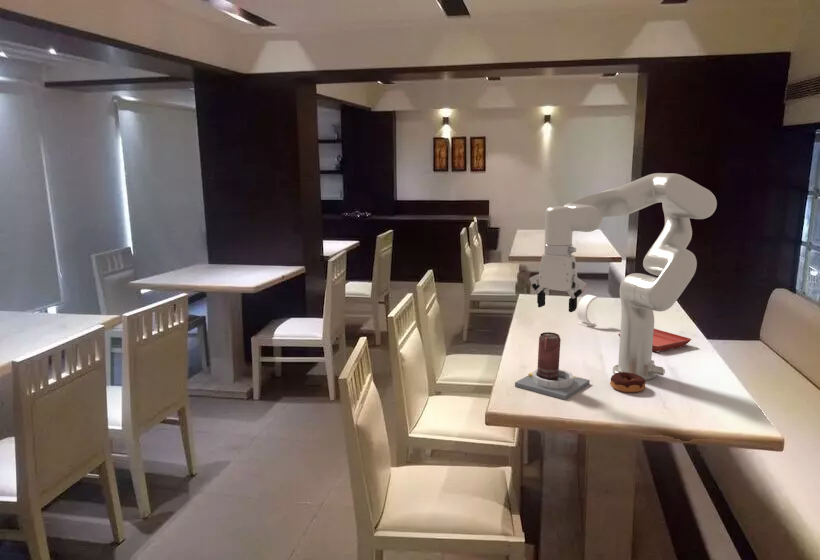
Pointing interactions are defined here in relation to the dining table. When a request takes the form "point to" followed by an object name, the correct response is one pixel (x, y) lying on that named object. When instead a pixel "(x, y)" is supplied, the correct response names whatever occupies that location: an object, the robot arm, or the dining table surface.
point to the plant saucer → (667, 341)
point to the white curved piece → (585, 310)
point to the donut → (627, 382)
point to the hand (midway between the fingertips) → (556, 308)
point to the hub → (553, 384)
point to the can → (548, 356)
